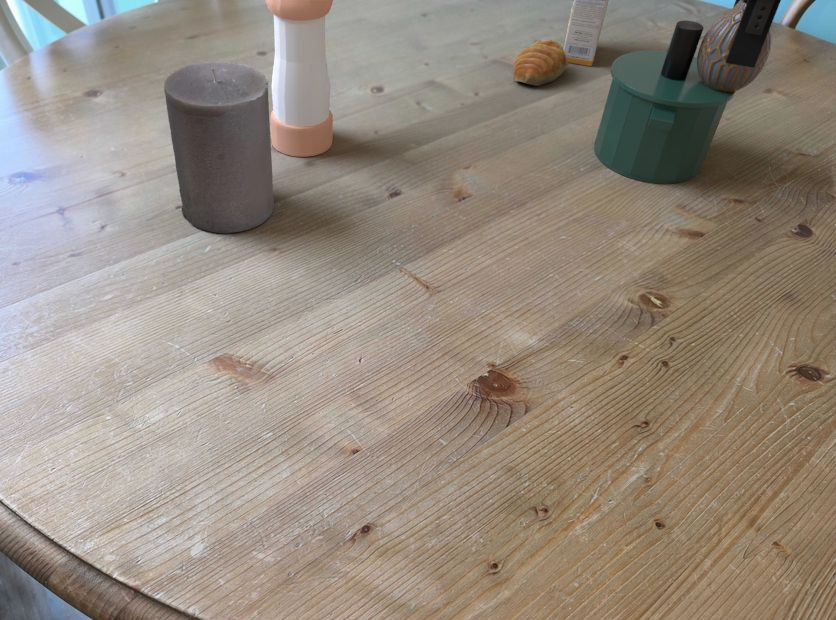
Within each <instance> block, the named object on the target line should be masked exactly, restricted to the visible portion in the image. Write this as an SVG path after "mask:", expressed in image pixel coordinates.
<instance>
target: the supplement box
mask: <svg viewBox="0 0 836 620" xmlns="http://www.w3.org/2000/svg"><path fill="white" fill-rule="evenodd" d="M609 1H610V0H573V1H572V5H571V10H570V14H569V18H568V25H567V29H566V33H565V39H564V44H563V50H564V53H565V54H566V58H567V61H568V64H575V65H576V64H577V65H582V66H589V67H592V66H593V64H594V61H595V56H596V52H597V49H598V45H599V41H600V37H601V32H602V28H603V24H604V20H605V17H606V13H607V8H608V4H609Z"/></svg>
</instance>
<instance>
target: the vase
mask: <svg viewBox="0 0 836 620" xmlns="http://www.w3.org/2000/svg"><path fill="white" fill-rule="evenodd" d="M747 1H748V0H740V1H739V2H738V3H737V4H736V6H735V7H734V6H733V7H732V8H731V9H730V10H728V11H727V12H725V13H724V14H723V15H722V16H721V17H719V18H718V19H717V20H715V22H714V23H713V24H712V25H710V27H709V28H708V30H707V31H706V33H705V35H704V36H703V38H702V40H701V42H700V44H699V48H698V52H697V57H696V58H697V70H698V73H699V76H700V78H701V80H702V81H703V83H704V84H705V85H706V86H708V87H710V88H712V89H715V90H718V91H724V92H734V91H736V92H738V91H740V90H742V89H744V88H745V87H747V86H748V85H750V84H752V83H753V82H754V81H755V79H756V78H757V77H758V76H759V75H760V74H761V72H762V71H763V69H764V67H765V65H766V63H767V61H768V58H769V56H770V53H771V48H772V31H771V28H770V29H769V32H768V34H767V37H766V39H765V42H764V44H763V47H762V49H761V52H760V54H759V57H758V59H757V62H756V64H755V67H754V68H753V67H747V66H741V65H735V64H730V63H726V59H727V56H728V53H729V50H730V48H731V45H732V42H733V39H734V37H735V34H736V31H737V29H738V26H739V23H740V20H741V18H742V15H743V12H744V9H745V7H746V4H747Z"/></svg>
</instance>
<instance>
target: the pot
mask: <svg viewBox="0 0 836 620" xmlns="http://www.w3.org/2000/svg"><path fill="white" fill-rule="evenodd" d="M610 83H611V84H610V87H609V90H608V94H607V98H606V100H605V101H606V102H605V104H604V108H603V112H602V114H601V115H602V116H601V119H600V123H599V127H598V130H597V134H596V137H595V141H594V146H593V150H594V154H595V156H596V158H597V159H598V160H599V162H600V163H602V164H603V165H604V166H605V167H606V168H608V169H609V170H611V171H613V172H614V173H616V174H619V175H621V176H624V177H626V178H629V179H632V180H635V181H639V182H644V183H650V184H660V185H661V184H662V185H665V184H666V185H669V184H671V185H672V184H678V183H683V182H686V181H688V180H691V179H693V178H694V177H695V176H697V175H698V174H699V172H700V171H701V169H702V167H703V165H704V162H705V160H706V157H707V154H708V152H709V149H710V147H711V145H712V142H713V139H714V137H715V134H716V132H717V129H718V127H719V124H720V122H721V119H722V117H723V114H724V112H725V109H726V107H727V104H728V102H726V103H724V104H722V105H719V106H715V107H708V108H682V107H674V106H668V105H664V104H659V103H655V102H652V101H649V100H646V99H643V98H640V97H638V96H636V95H634V94H632V93H630V92H628V91H626V90H625V89H623V88H622V87H620V86H619V85H618V84H617V83H616V82H615V81H614V79H613V78H612V79H611V82H610Z"/></svg>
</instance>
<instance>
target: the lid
mask: <svg viewBox="0 0 836 620" xmlns="http://www.w3.org/2000/svg"><path fill="white" fill-rule="evenodd" d="M703 31H704V26H703V24H701V23H699V22H697V21H693V20H679V21H677V22H676V25H675V27H674V30H673V33H672V37H671V39H670V43H669V46H668V48H667V50H638V51H637V50H636V51H631V52H627V53H624V54H622V55H620V56H618V57H617V58H615V60H613V62H612V64H611V68H610V75H611V78H612V79H614V81H615V82H616V83H617V84H618V85H619V86H620V87H622V88H623V89H625V90H626V91H628V92H630V93H632V94H634V95H636V96H638V97H640V98H643V99H646V100H649V101H652V102H655V103H659V104H664V105H668V106H674V107H682V108H708V107H715V106H719V105H722V104H724V103H726V102H727V103H728V102H730V101H731V100H732V99H733V98H734V96H735V94H736V92H737V91H734V92H724V91H718V90H715V89H712V88H710V87H708V86H706V85H705V84H704V83H703V81H702V80H701V78H700V76H699V73H698V70H697V57H696V56H695V54H696V51H697V48H698V46H699V42H700V40H701V37H702V34H703Z"/></svg>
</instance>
